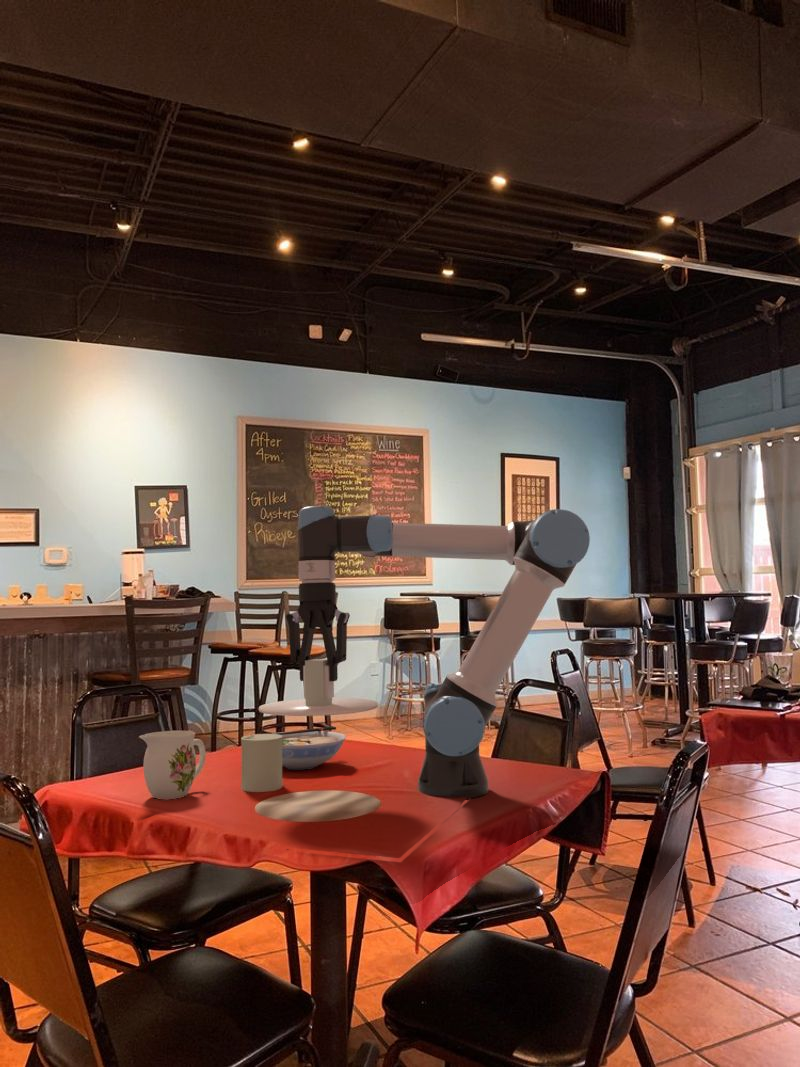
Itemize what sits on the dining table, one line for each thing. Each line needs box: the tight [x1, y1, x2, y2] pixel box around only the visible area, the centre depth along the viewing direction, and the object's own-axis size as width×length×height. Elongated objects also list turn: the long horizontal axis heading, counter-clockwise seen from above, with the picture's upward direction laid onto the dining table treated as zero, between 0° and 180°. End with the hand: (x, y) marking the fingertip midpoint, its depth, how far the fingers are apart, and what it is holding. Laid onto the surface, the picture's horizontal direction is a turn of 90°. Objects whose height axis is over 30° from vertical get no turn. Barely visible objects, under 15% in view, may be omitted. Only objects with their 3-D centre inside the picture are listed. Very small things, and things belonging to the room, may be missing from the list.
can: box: [240, 733, 283, 793], centre depth 178 cm, size 9×9×12 cm
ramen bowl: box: [273, 725, 347, 771], centre depth 202 cm, size 25×23×8 cm
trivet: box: [254, 790, 382, 823], centre depth 161 cm, size 25×25×1 cm
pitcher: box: [138, 730, 207, 800], centre depth 174 cm, size 11×18×14 cm, turn 148°
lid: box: [258, 658, 379, 717], centre depth 163 cm, size 24×24×10 cm
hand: (318, 697), depth 163 cm, fingers closed on lid, 4 cm apart
